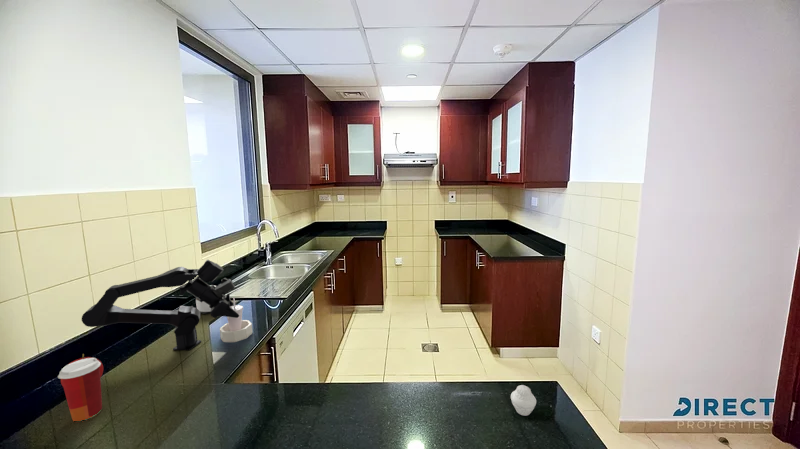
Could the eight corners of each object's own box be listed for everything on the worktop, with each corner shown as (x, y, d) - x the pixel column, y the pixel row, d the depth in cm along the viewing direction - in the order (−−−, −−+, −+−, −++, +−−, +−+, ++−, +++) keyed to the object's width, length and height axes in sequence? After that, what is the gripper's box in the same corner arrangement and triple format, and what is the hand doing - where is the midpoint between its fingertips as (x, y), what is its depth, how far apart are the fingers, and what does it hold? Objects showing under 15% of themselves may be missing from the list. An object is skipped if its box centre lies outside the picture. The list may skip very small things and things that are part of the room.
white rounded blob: (534, 423, 77) (535, 397, 76) (508, 415, 80) (509, 389, 79) (537, 407, 82) (537, 382, 81) (512, 400, 85) (513, 376, 84)
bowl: (242, 342, 119) (241, 332, 119) (215, 342, 120) (214, 332, 119) (256, 329, 130) (255, 320, 129) (231, 329, 130) (230, 320, 130)
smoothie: (230, 337, 120) (227, 301, 118) (224, 331, 124) (221, 297, 123) (247, 331, 125) (245, 297, 123) (241, 326, 129) (238, 293, 127)
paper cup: (104, 400, 88) (97, 353, 86) (110, 412, 83) (102, 363, 81) (64, 416, 82) (55, 366, 80) (67, 430, 77) (58, 378, 75)
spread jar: (201, 316, 143) (199, 292, 142) (192, 310, 150) (189, 287, 149) (228, 308, 153) (226, 285, 151) (218, 303, 160) (216, 281, 158)
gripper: (218, 280, 111) (254, 305, 118) (220, 268, 128) (252, 290, 134) (194, 306, 109) (232, 329, 115) (199, 290, 125) (232, 311, 132)
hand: (238, 313), depth 124 cm, fingers closed on smoothie, 6 cm apart
